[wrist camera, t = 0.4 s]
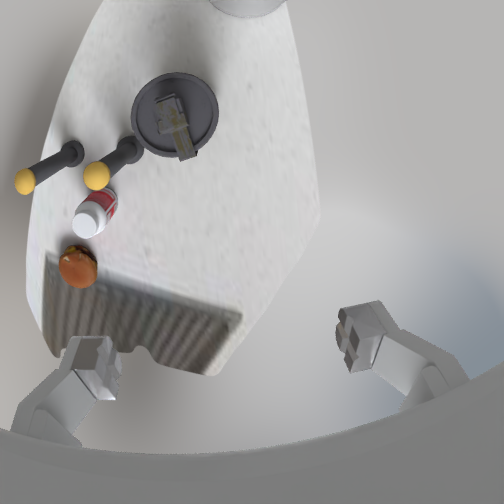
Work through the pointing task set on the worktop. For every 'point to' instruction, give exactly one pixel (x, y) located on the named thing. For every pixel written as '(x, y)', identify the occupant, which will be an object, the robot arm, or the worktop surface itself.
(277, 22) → the worktop surface
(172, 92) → the canister
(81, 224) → the pill bottle
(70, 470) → the robot arm
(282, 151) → the worktop surface
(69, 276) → the burger
